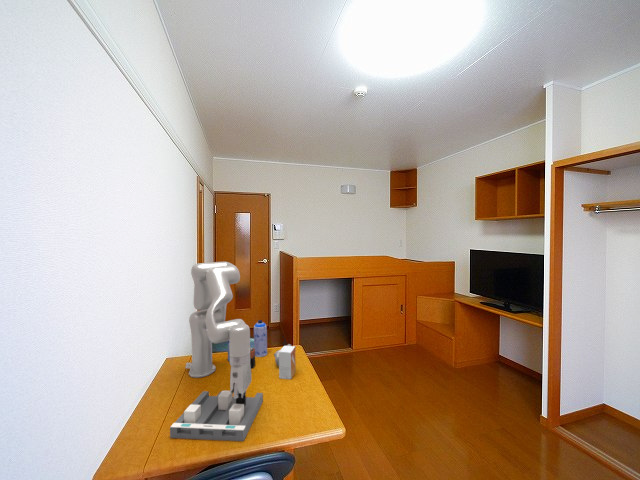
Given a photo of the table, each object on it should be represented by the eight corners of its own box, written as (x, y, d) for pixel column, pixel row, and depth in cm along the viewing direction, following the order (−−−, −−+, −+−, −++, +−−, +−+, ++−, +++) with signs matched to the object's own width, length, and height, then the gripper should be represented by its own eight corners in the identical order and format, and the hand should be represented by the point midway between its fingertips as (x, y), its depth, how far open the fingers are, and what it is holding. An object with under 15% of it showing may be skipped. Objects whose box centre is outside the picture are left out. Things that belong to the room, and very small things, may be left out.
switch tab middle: (218, 409, 104) (218, 396, 104) (222, 403, 108) (222, 390, 108) (228, 410, 103) (228, 396, 103) (232, 403, 107) (232, 390, 107)
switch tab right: (229, 425, 95) (228, 410, 95) (233, 417, 99) (233, 403, 99) (240, 425, 94) (239, 411, 94) (244, 418, 98) (244, 404, 98)
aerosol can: (270, 352, 159) (269, 319, 159) (262, 358, 152) (261, 323, 152) (259, 350, 163) (258, 317, 163) (251, 355, 155) (250, 321, 155)
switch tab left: (184, 426, 95) (184, 411, 95) (190, 418, 99) (190, 404, 99) (195, 426, 94) (194, 411, 94) (201, 419, 98) (200, 404, 98)
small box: (291, 379, 128) (291, 352, 128) (278, 378, 129) (278, 351, 129) (296, 371, 136) (295, 346, 136) (284, 370, 137) (283, 345, 137)
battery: (252, 369, 139) (252, 350, 139) (240, 369, 140) (239, 350, 140) (255, 365, 144) (255, 346, 144) (243, 365, 144) (242, 346, 144)
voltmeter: (298, 368, 139) (298, 350, 139) (277, 373, 135) (276, 353, 135) (287, 349, 164) (287, 333, 164) (268, 352, 160) (268, 336, 160)
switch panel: (170, 437, 92) (170, 426, 92) (203, 399, 114) (203, 390, 114) (243, 441, 89) (243, 429, 89) (262, 401, 111) (262, 392, 111)
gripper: (242, 368, 93) (243, 420, 93) (256, 350, 108) (256, 395, 108) (221, 367, 93) (222, 419, 93) (238, 349, 108) (238, 394, 108)
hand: (241, 406), depth 101 cm, fingers closed
